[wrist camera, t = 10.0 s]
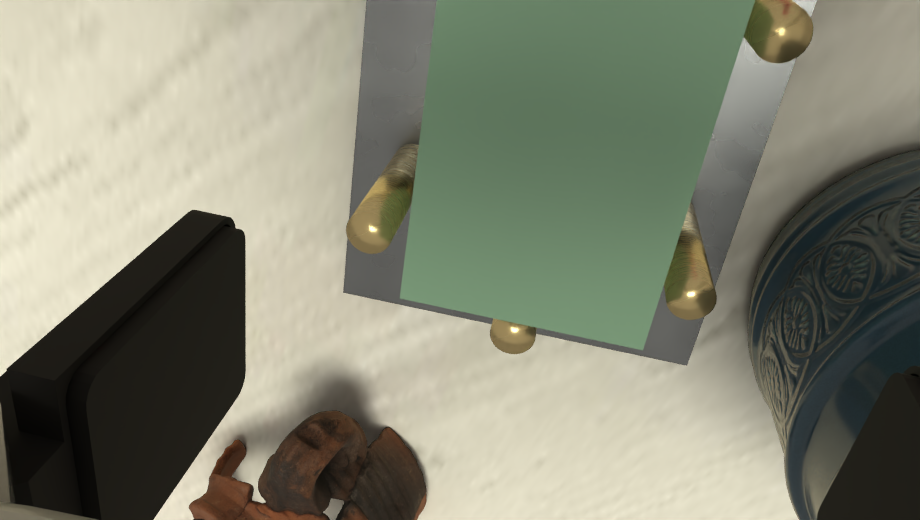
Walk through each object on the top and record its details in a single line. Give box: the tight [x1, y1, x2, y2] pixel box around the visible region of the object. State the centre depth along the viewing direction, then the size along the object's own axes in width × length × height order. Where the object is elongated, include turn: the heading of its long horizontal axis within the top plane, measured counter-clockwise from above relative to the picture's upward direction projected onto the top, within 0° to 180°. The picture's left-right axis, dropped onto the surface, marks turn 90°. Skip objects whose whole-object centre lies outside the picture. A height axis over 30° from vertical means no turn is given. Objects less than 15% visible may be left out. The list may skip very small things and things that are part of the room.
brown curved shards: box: [189, 411, 426, 520], centre depth 35 cm, size 12×10×8 cm
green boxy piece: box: [400, 0, 755, 350], centre depth 21 cm, size 7×10×5 cm
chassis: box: [343, 0, 817, 365], centre depth 24 cm, size 14×20×7 cm
